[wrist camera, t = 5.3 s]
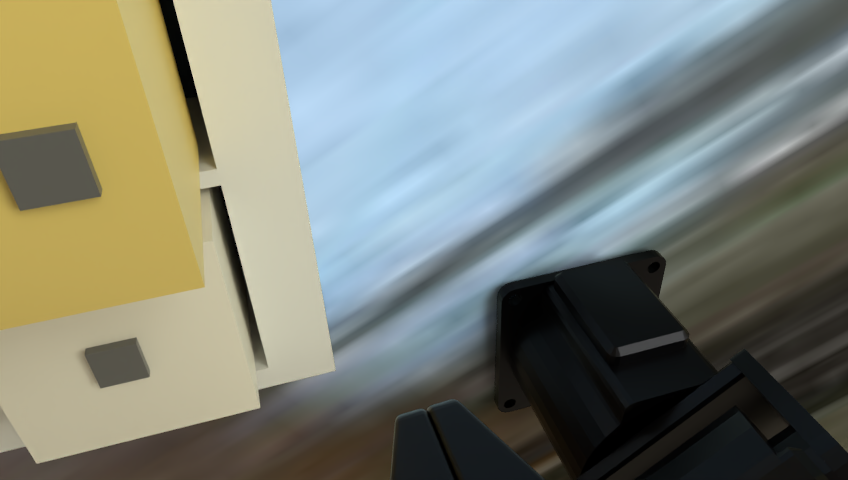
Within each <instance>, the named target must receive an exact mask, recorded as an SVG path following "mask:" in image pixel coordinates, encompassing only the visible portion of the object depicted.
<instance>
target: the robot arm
mask: <svg viewBox="0 0 848 480" xmlns="http://www.w3.org/2000/svg"><path fill="white" fill-rule="evenodd" d="M651 263H652V264H651ZM650 264H651V265H650ZM665 266H666V260H665V259H664V258H663V257H662V256H661V254H660V253H659V252H657V251H655V250H650V251H645V252H641V253H637V254H632V255H628V256H624V257H619V258H615V259H611V260H606V261H602V262H598V263H593V264H589V265H585V266H580V267H576V268H571V269H567V270H563V271H558V272H554V273H550V274H545V275H541V276H537V277H532V278H528V279H524V280H519V281H515V282H511V283H508V284H506V285H504V286H503V287H502V288H501V289H500V290H499V292H498V296H497V327H496V364H495V402H496V405H497V407H498V409H499V410H500V411H501V412H510V411H514V410H518V409H521V408H525V407H529V406H531V407H532V408H533V410H534V412H535V414H536V416H537V418H538V420H539V421H540V423H541V425H542V427H543V429H544V431H545V432H546V434H547V436H548V438H549V440H550V442H551V444H552V445H553V447H554V449H555V451H556V453H557V455H558V456H559V458H560V460H561V462H562V464H563V466H564V468H565V469H566V471H567V473H568V475H569V477H570V479H571V480H848V453H847V452H846V451H845V450H844V449H843V448H842V447H841V445H840V444H839V443H838V442H837V441H836V440H835V439H834V438H833V437H832V436H831V435H830V434H829V433H828V432H827V431H826V430H825V429H824V428H823V427H822V426H821V425H820V424H819V423H818V422H817V421H816V420H815V419H814V418H813V417H812V416H811V415H810V414H809V413H808V412H807V411H806V410H805V409H804V408H803V407H802V406H801V405H800V404H799V403H798V402H797V401H796V400H795V399H794V398H793V397H792V396H791V395H790V394H789V393H788V392H787V391H786V390H785V389H784V388H783V387H782V386H781V385H780V384H779V383H778V382H777V381H776V380H775V379H774V378H773V377H772V376H771V375H770V374H769V373H768V372H767V371H766V370H765V369H764V368H763V367H762V366H761V365H760V364H759V363H758V362H757V361H756V360H755V359H754V358H753V357H752V356H751V355H750V354H749V353H748V352H747V351H746V350H745V349H742V350H741V351H740V352H738V353H737V354H736V355H734V356H733V357H732V358H730V360H731V361H732V362H730V363H729V364H728V365H726V366H725V367H724V368H722V369H721V370H720V371H717V370H716V369H715V368H714V367H713V366H712V364H711V363H710V362H709V361H708V360H707V359H706V358H705V356H704V355H703V354H702V353H701V352H700V351H699V350H698V348H697V347H696V346H695V345H694V344H693V343H692V342H691V340H690V339H689V333H688V331H687V330H686V329H685V327H684V326H683V325H682V324H681V323H680V322H679V321H678V320H677V318H676V317H675V316H674V315H673V314H672V313H671V312H670V310H669V309H668V308H667V307H666V306H665V305H664V304H663V303H662V301H661V300H660V299H659V294H660V289H661V284H662V280H663V275H664V270H665ZM513 295H515V296H514V297H513V298H511V299H509V298H510V297H511V296H513ZM390 480H545V479H544V478H543V477H541V476H540V475H539V474H538V473H537V472H536V471H535V470H534V469H533V468H532V467H531V466H529V465H528V464H527V463H526V462H525V461H524V460H523V459H522V458H521V457H520V456H518V455H517V454H516V453H515V452H514V451H513V450H512V449H511V448H510V447H509V446H508V445H506V444H505V443H504V442H503V441H502V440H501V439H500V438H499V437H498V436H497V435H495V434H494V433H493V432H492V431H491V430H490V429H489V428H488V427H487V426H486V425H485V424H483V423H482V422H481V421H480V420H479V419H478V418H477V417H476V416H475V415H474V414H472V413H471V412H470V411H469V410H468V409H467V408H466V407H465V406H464V405H463V404H461V403H460V402H459V401H457V400H454V399H451V400H448V401H444V402H441V403H438V404H434V405H431V406H429V407H428V409H427V411H426V410H424V409H418V410H414V411H411V412H408V413H404V414H401V415H398V416H397V418H396V420H395V427H394V439H393V451H392V463H391V475H390Z"/></svg>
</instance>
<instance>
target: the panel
mask: <svg viewBox="0 0 848 480" xmlns="http://www.w3.org/2000/svg"><path fill="white" fill-rule="evenodd" d="M173 2H174V6H175V10H176V14H177V18H178V21H179V25H180V29H181V33H182V37H183V41H184V45H185V48H186V52H187V56H188V60H189V64H190V68H191V71H192V75H193V79H194V83H195V87H196V91H197V95H198V96H197V97H190V98H186V102H187V105H188V109H189V113H190V116H191V120H192V124H193V127H194V131H195V135H196V139H197V142H198V155H199V176H200V189H204V188H210V187H215V186H221V187H222V191H223V195H224V199H225V202H226V206H227V210H228V214H229V218H230V222H231V225H232V229H233V233H234V237H235V241H236V245H237V249H238V252H239V256H240V260H241V264H242V268H243V272H244V276H245V278H244V281H245V289H246V297H247V305H248V313H249V321H250V329H251V337H252V345H253V353H254V361H255V369H256V377H257V385H258V390H259V389H263V388H267V387H271V386H275V385H279V384H283V383H287V382H291V381H295V380H300V379H304V378H308V377H312V376H316V375H320V374H324V373H328V372H332V371H336V370H335V364H334V358H333V353H332V347H331V341H330V335H329V330H328V324H327V318H326V313H325V307H324V301H323V296H322V290H321V284H320V278H319V273H318V267H317V261H316V256H315V250H314V244H313V239H312V233H311V227H310V221H309V216H308V210H307V204H306V199H305V193H304V187H303V182H302V176H301V170H300V164H299V159H298V153H297V147H296V142H295V136H294V130H293V125H292V119H291V113H290V107H289V102H288V96H287V90H286V85H285V79H284V73H283V68H282V62H281V56H280V50H279V45H278V39H277V33H276V28H275V22H274V16H273V11H272V5H271V0H173ZM21 447H25V444H24V443H23V441H22V440H21V438H20V436H19V435H18V433H17V432H16V430H15V428H14V427H13V425H12V424H11V422H10V421H9V419H8V417H7V416H6V414H5V413H4V411H3V409H2V408H1V406H0V453H1V452H5V451H9V450H13V449H17V448H21Z"/></svg>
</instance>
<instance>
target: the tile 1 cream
mask: <svg viewBox="0 0 848 480" xmlns="http://www.w3.org/2000/svg"><path fill="white" fill-rule="evenodd" d="M200 196H201V217H202V238H203V258H204V279H205V287H204V288H199V289H194V290H189V291H184V292H180V293H175V294H170V295H165V296H161V297H156V298H151V299H146V300H142V301H137V302H132V303H127V304H123V305H118V306H113V307H108V308H104V309H99V310H94V311H89V312H85V313H80V314H75V315H70V316H66V317H61V318H56V319H51V320H47V321H42V322H37V323H32V324H28V325H23V326H18V327H13V328H9V329H4V330H0V406H1V408H2V409H3V411H4V413H5V414H6V416H7V417H8V419H9V421H10V422H11V424H12V425H13V427H14V428H15V430H16V432H17V433H18V435H19V436H20V438H21V440H22V441H23V443H24V444H25V446H26V448H27V449H28V451H29V452H30V454H31V456H32V457H33V459H34V460H35V462H36V463H37V464H38V463H42V462H46V461H50V460H54V459H58V458H62V457H66V456H70V455H74V454H78V453H82V452H86V451H90V450H94V449H98V448H102V447H106V446H110V445H114V444H118V443H122V442H126V441H130V440H134V439H138V438H142V437H146V436H150V435H154V434H158V433H162V432H166V431H170V430H174V429H178V428H182V427H186V426H190V425H194V424H198V423H202V422H206V421H210V420H214V419H218V418H222V417H226V416H230V415H234V414H238V413H242V412H246V411H250V410H254V409H258V408H260V401H259V393H258V385H257V377H256V369H255V361H254V353H253V345H252V337H251V329H250V321H249V313H248V305H247V297H246V289H245V281H244V277H243V274H242V270H241V266H240V262H239V258H238V254H237V251H236V247H235V243H234V239H233V235H232V231H231V228H230V224H229V220H228V216H227V212H226V208H225V205H224V201H223V197H222V193H221V189H220V186H215V187H210V188H204V189H200Z"/></svg>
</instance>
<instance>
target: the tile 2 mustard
mask: <svg viewBox="0 0 848 480" xmlns="http://www.w3.org/2000/svg"><path fill="white" fill-rule="evenodd" d="M204 287H205V279H204V258H203V238H202V217H201V196H200V176H199V155H198V142H197V139H196V135H195V131H194V127H193V124H192V120H191V116H190V113H189V109H188V105H187V102H186V98H185V94H184V91H183V87H182V83H181V80H180V76H179V72H178V69H177V65H176V61H175V58H174V54H173V50H172V47H171V43H170V39H169V36H168V32H167V28H166V24H165V21H164V17H163V13H162V10H161V6H160V2H159V0H0V330H4V329H9V328H13V327H18V326H23V325H28V324H32V323H37V322H42V321H47V320H51V319H56V318H61V317H66V316H70V315H75V314H80V313H85V312H89V311H94V310H99V309H104V308H108V307H113V306H118V305H123V304H127V303H132V302H137V301H142V300H146V299H151V298H156V297H161V296H165V295H170V294H175V293H180V292H184V291H189V290H194V289H199V288H204Z"/></svg>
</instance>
